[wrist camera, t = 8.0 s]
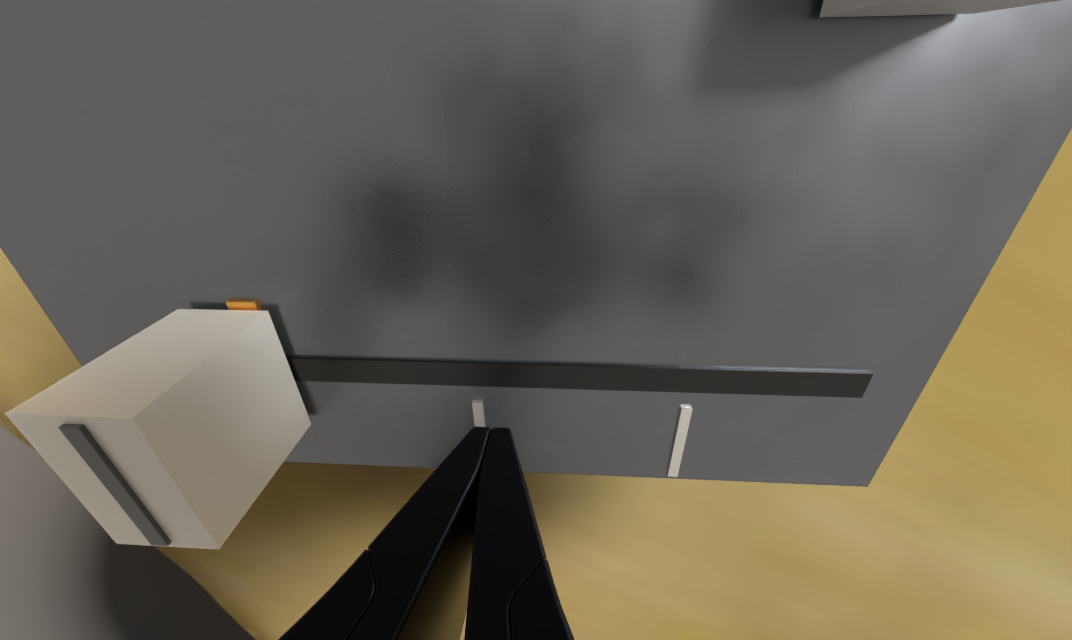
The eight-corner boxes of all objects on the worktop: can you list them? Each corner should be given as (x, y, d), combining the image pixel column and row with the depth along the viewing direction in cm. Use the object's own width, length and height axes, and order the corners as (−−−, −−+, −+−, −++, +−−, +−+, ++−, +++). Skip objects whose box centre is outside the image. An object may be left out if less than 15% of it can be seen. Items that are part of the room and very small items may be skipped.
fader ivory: (311, 424, 13) (215, 554, 10) (234, 421, 13) (112, 548, 10) (268, 310, 11) (126, 422, 8) (178, 308, 11) (-3, 416, 8)
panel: (840, 449, 14) (870, 490, 13) (177, 424, 16) (140, 458, 15) (1331, -555, 5) (1603, -780, 4) (-308, -388, 7) (-529, -505, 6)
